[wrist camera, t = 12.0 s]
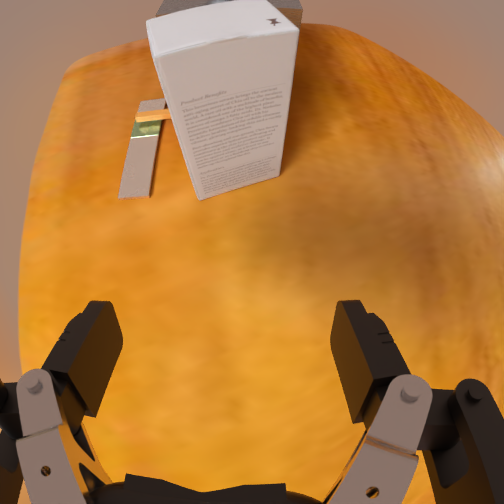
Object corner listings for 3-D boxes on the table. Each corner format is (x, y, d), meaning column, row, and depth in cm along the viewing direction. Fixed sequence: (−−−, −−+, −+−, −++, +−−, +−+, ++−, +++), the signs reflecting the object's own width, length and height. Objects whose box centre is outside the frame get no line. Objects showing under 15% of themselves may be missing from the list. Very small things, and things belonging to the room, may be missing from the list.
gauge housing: (284, 64, 25) (299, -72, 11) (304, 193, 20) (367, -15, 6) (151, 71, 25) (118, -56, 11) (119, 200, 20) (8, 34, 6)
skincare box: (259, 134, 22) (265, -6, 11) (280, 178, 21) (305, 29, 9) (182, 156, 21) (143, 18, 10) (196, 203, 20) (152, 58, 9)
